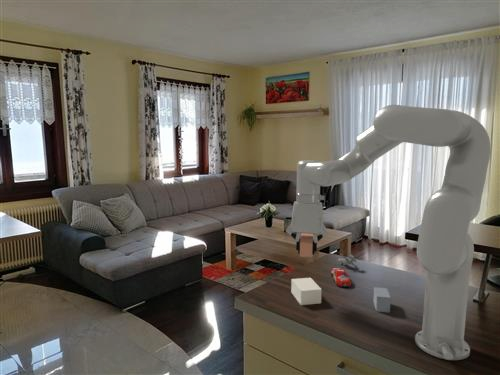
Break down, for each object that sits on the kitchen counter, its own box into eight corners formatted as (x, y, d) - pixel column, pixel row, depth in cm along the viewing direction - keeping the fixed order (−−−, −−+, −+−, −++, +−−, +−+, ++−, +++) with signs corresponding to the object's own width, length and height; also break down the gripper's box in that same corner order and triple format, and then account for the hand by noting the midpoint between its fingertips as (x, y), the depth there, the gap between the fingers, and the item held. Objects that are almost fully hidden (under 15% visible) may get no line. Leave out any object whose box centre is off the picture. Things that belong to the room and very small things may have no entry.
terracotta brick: (312, 257, 118) (312, 243, 116) (299, 256, 119) (299, 242, 117) (313, 247, 124) (313, 233, 123) (301, 246, 125) (301, 233, 124)
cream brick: (321, 303, 119) (321, 289, 118) (300, 305, 117) (300, 291, 117) (310, 291, 128) (310, 277, 128) (291, 292, 127) (291, 279, 126)
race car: (352, 289, 130) (352, 278, 130) (337, 288, 131) (337, 278, 130) (344, 274, 143) (344, 265, 143) (330, 274, 144) (330, 265, 143)
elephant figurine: (352, 262, 157) (364, 261, 149) (345, 274, 155) (358, 274, 146) (334, 248, 156) (346, 247, 148) (328, 260, 154) (339, 259, 145)
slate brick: (389, 312, 112) (390, 297, 112) (376, 311, 113) (377, 296, 113) (386, 302, 119) (386, 288, 119) (373, 301, 120) (374, 287, 119)
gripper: (334, 197, 120) (331, 251, 123) (283, 195, 123) (282, 247, 126) (334, 201, 113) (332, 258, 116) (280, 199, 116) (279, 254, 119)
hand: (306, 252), depth 121 cm, fingers closed on terracotta brick, 4 cm apart
